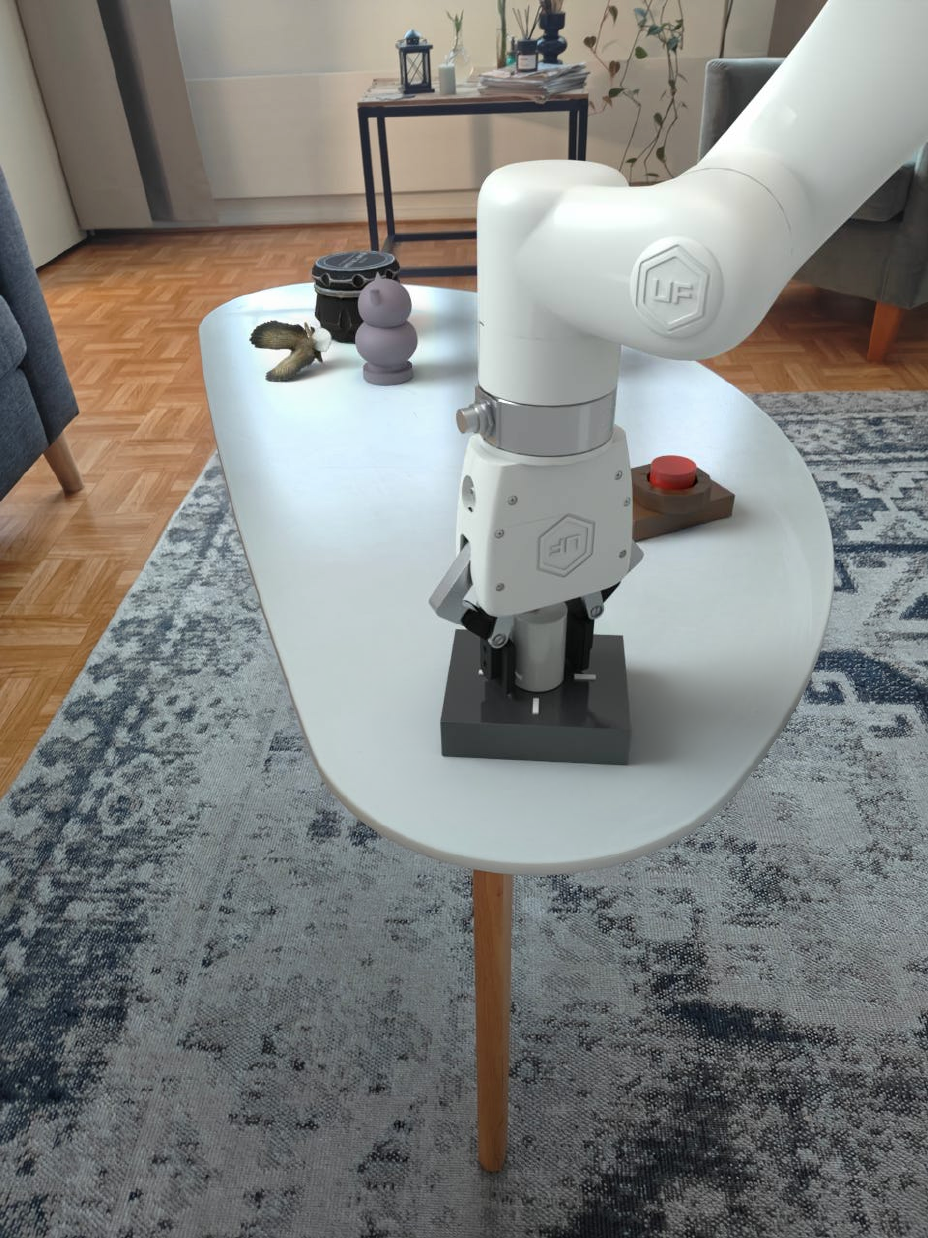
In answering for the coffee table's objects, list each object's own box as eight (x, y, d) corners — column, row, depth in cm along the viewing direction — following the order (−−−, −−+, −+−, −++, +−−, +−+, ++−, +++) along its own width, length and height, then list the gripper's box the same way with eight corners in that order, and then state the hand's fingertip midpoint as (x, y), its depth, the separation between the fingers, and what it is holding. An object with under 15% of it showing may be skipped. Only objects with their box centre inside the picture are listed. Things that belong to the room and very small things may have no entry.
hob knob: (563, 659, 62) (567, 588, 58) (564, 693, 59) (568, 621, 55) (510, 658, 62) (511, 587, 59) (509, 691, 59) (510, 619, 56)
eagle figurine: (294, 344, 122) (240, 349, 116) (314, 303, 118) (259, 307, 111) (325, 386, 121) (272, 393, 114) (347, 346, 116) (292, 351, 110)
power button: (676, 468, 84) (679, 451, 83) (703, 486, 81) (705, 468, 80) (640, 477, 83) (642, 460, 82) (666, 495, 80) (668, 478, 79)
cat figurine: (417, 388, 112) (412, 289, 105) (354, 389, 112) (345, 289, 105) (421, 364, 119) (417, 269, 112) (362, 364, 119) (354, 270, 112)
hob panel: (619, 668, 66) (623, 633, 64) (627, 765, 58) (632, 728, 56) (456, 661, 67) (455, 626, 65) (441, 756, 59) (439, 719, 57)
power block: (674, 476, 91) (679, 439, 88) (738, 520, 83) (745, 480, 81) (580, 500, 87) (582, 462, 85) (638, 547, 79) (642, 507, 77)
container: (314, 321, 135) (306, 251, 129) (400, 314, 136) (395, 245, 131) (319, 349, 124) (310, 274, 119) (411, 341, 126) (407, 267, 120)
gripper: (431, 470, 44) (442, 744, 55) (714, 409, 50) (674, 667, 60) (377, 416, 50) (397, 674, 60) (637, 366, 55) (614, 609, 66)
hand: (536, 668), depth 60 cm, fingers open, 4 cm apart
